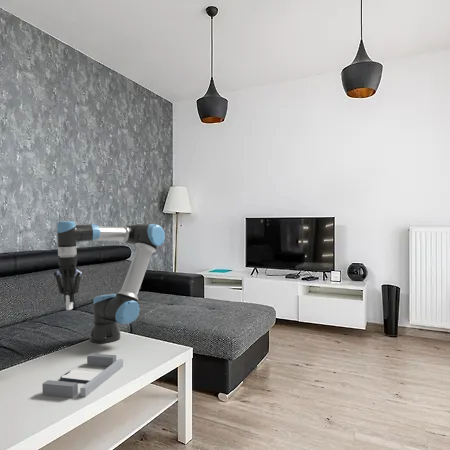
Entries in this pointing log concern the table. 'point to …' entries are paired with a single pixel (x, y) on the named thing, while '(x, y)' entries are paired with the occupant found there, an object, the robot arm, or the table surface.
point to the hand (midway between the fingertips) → (69, 309)
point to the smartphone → (79, 376)
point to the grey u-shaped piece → (72, 388)
